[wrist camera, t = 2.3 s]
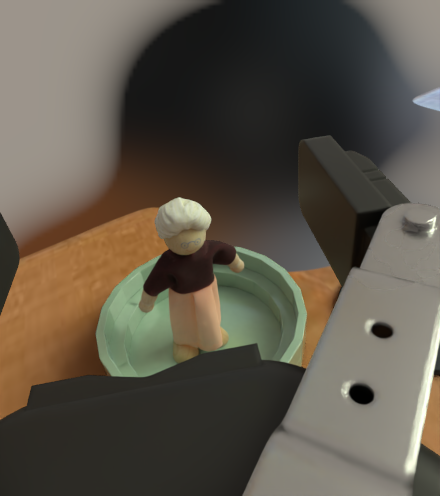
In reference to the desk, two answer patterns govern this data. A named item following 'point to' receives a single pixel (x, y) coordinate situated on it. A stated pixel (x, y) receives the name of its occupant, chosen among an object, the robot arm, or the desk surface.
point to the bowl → (232, 321)
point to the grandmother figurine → (189, 278)
